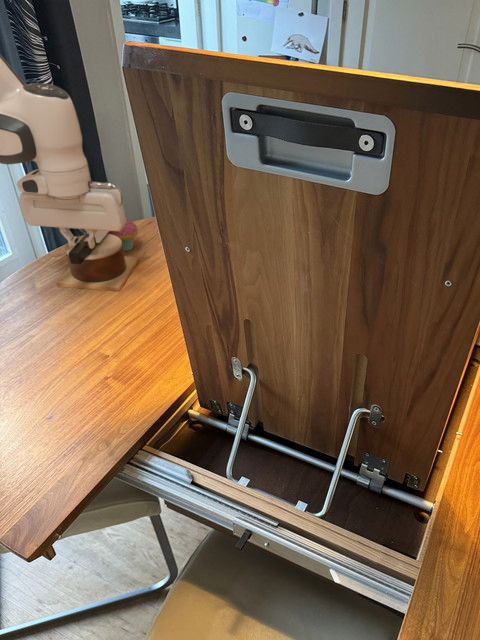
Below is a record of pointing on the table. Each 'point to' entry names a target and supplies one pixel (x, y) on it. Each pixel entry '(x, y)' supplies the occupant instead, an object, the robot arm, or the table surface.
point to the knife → (81, 252)
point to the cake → (100, 267)
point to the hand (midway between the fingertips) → (82, 246)
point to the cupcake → (126, 235)
